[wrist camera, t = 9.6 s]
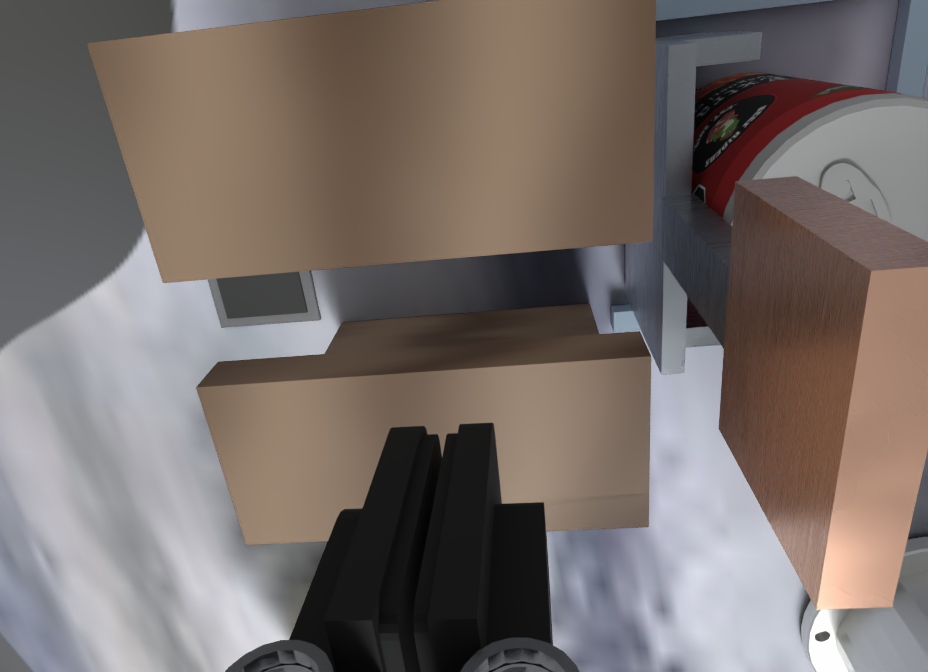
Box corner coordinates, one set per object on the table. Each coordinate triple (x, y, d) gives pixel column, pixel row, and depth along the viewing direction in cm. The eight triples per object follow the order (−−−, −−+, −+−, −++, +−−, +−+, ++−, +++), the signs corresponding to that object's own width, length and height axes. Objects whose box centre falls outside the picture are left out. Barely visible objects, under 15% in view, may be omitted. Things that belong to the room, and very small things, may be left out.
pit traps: (269, 78, 27) (266, 79, 27) (320, 318, 32) (319, 321, 32) (156, 91, 28) (152, 92, 28) (222, 326, 32) (220, 329, 32)
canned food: (747, 27, 26) (908, 24, 16) (868, 166, 28) (1079, 242, 18) (603, 174, 28) (663, 252, 18) (723, 291, 30) (835, 419, 20)
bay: (933, -42, 24) (946, -44, 24) (875, 305, 30) (884, 312, 29) (606, -2, 26) (610, -3, 25) (611, 325, 31) (613, 332, 31)
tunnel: (581, 1, 26) (656, -27, 13) (590, 326, 31) (648, 527, 19) (284, 36, 27) (86, 43, 14) (346, 344, 33) (245, 544, 20)
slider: (711, 31, 25) (1243, 36, 7) (699, 290, 30) (1006, 701, 12) (619, 41, 26) (903, 71, 7) (621, 296, 30) (800, 705, 12)
